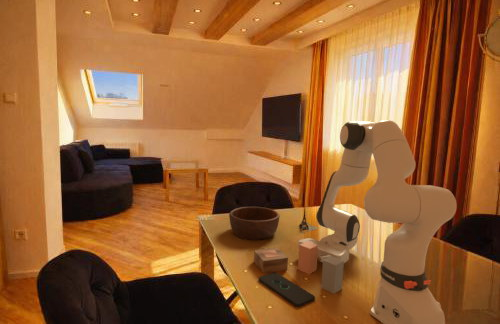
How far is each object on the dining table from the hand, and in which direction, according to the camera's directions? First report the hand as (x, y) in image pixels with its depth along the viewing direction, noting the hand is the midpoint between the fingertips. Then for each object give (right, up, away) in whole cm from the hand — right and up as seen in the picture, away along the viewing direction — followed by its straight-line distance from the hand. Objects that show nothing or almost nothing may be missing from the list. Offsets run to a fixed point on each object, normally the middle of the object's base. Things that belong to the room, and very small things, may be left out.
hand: (309, 255), depth 122 cm
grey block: (+5, -7, -13) cm, 16 cm away
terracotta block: (-1, -6, 0) cm, 6 cm away
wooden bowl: (-21, 0, +38) cm, 44 cm away
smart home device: (-11, -8, -14) cm, 20 cm away
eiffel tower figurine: (+6, 0, +48) cm, 48 cm away
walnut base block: (-15, -5, +3) cm, 16 cm away
